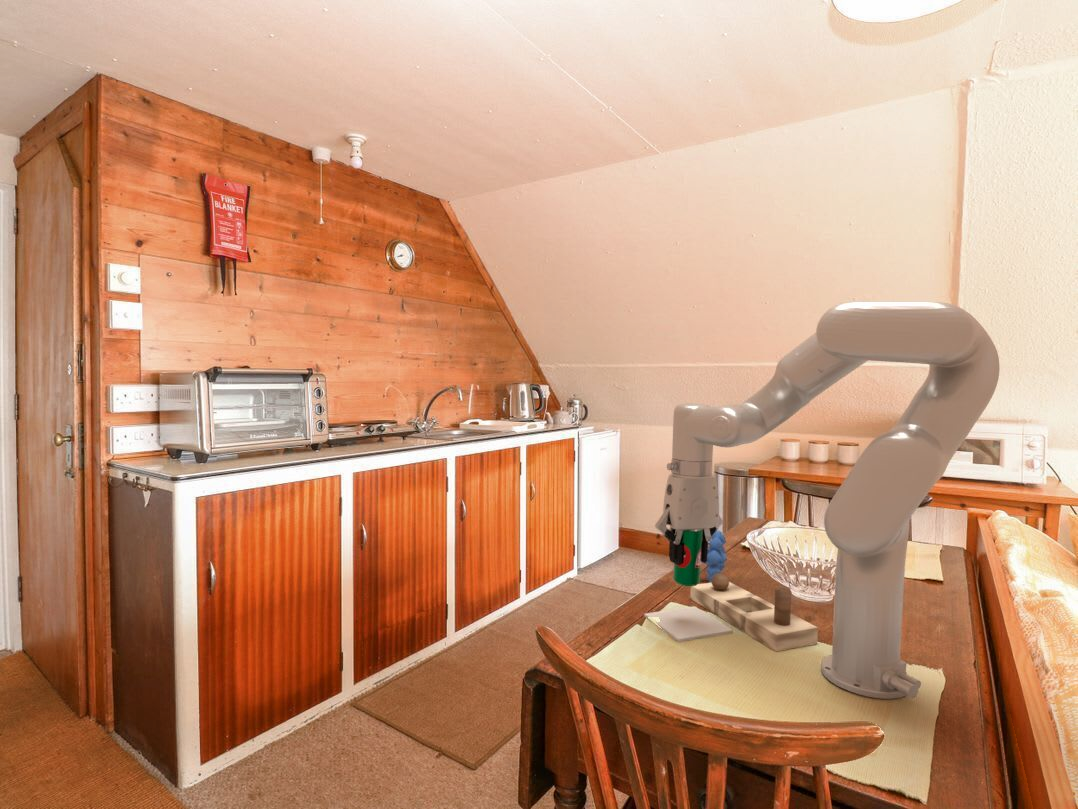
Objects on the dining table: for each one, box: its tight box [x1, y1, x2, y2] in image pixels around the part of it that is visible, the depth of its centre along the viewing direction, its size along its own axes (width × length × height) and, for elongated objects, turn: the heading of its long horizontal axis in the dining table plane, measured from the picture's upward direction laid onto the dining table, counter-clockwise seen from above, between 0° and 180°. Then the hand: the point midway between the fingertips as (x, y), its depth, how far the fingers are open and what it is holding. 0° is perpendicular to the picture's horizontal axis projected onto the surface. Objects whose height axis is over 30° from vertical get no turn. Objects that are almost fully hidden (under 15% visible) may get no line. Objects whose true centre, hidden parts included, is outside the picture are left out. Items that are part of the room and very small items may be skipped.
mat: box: [643, 605, 734, 643], centre depth 116 cm, size 12×12×1 cm
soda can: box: [672, 529, 703, 588], centre depth 115 cm, size 5×5×12 cm
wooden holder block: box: [689, 572, 819, 652], centre depth 118 cm, size 26×9×9 cm, turn 21°
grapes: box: [701, 530, 728, 583], centre depth 139 cm, size 12×7×12 cm, turn 155°
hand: (688, 560), depth 115 cm, fingers closed on soda can, 5 cm apart
